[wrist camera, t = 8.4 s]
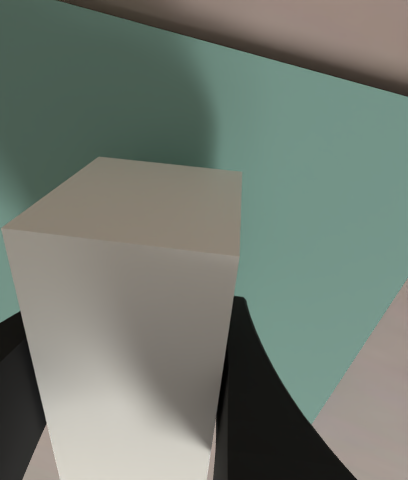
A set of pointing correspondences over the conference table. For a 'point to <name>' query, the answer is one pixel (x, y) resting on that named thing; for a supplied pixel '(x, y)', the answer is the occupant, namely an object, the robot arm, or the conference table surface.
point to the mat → (223, 166)
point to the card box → (129, 313)
